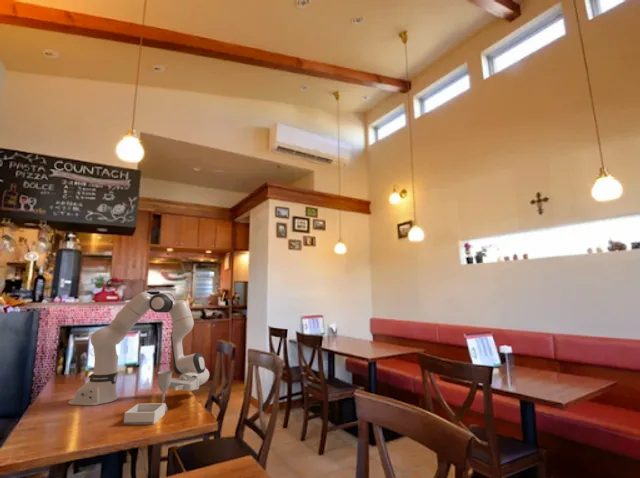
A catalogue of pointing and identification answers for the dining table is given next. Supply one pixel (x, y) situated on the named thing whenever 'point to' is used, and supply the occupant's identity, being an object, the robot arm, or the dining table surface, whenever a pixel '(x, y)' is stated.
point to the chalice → (164, 383)
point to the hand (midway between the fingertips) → (167, 387)
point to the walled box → (144, 414)
